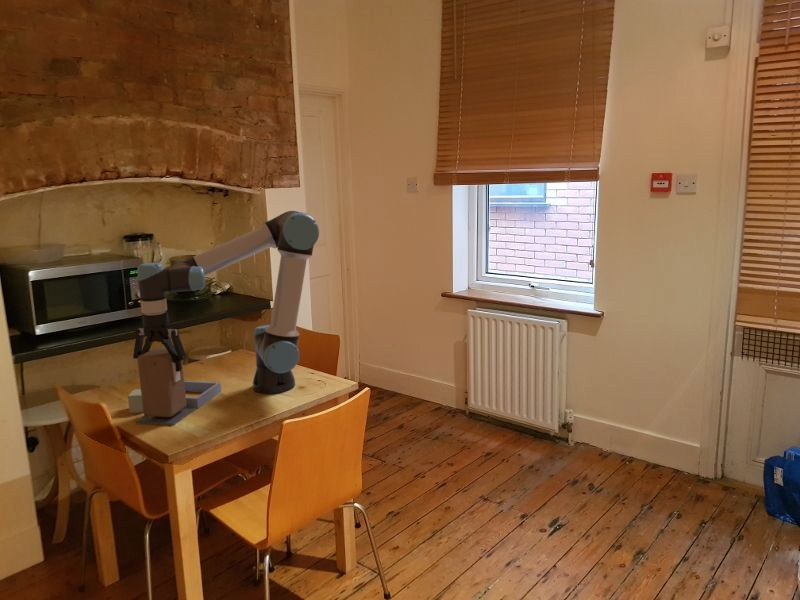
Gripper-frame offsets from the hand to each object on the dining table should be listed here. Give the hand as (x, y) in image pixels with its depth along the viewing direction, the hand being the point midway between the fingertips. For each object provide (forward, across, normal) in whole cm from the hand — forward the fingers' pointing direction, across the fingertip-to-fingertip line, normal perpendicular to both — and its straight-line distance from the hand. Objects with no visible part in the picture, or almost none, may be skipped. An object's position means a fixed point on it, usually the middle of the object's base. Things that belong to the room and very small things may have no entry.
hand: (162, 380), depth 197 cm
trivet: (+12, 0, 0) cm, 12 cm away
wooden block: (+11, 0, 0) cm, 11 cm away
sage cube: (+13, +12, -5) cm, 18 cm away
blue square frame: (+13, +1, -16) cm, 20 cm away
